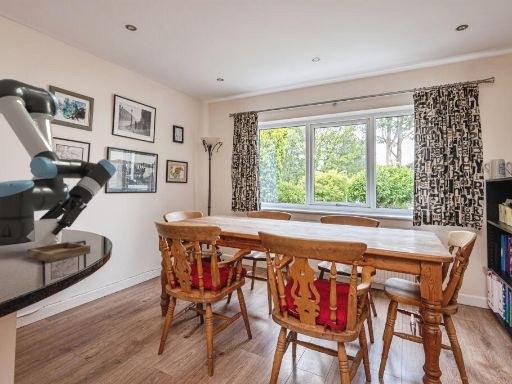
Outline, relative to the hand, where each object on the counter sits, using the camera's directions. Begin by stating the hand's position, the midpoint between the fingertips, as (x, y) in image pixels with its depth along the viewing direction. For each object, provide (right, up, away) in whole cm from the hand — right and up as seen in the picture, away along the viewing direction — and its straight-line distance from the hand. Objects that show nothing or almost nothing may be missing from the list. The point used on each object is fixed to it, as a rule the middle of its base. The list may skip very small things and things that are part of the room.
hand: (37, 240), depth 91 cm
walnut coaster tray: (+10, -4, -4) cm, 12 cm away
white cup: (+1, -4, +3) cm, 5 cm away
